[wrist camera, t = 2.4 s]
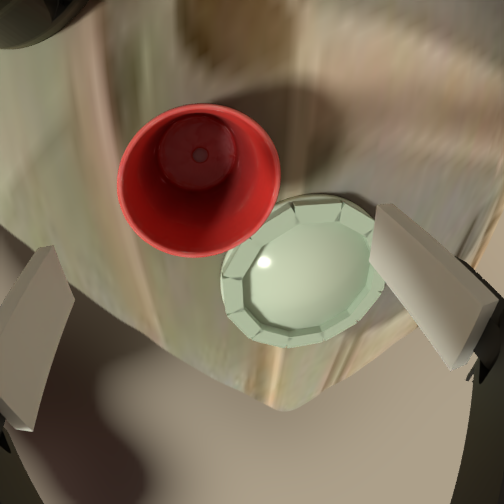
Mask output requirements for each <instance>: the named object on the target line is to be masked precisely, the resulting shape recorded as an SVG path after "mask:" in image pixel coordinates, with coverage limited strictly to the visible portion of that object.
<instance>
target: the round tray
mask: <svg viewBox="0 0 504 504" xmlns="http://www.w3.org/2000/svg"><path fill="white" fill-rule="evenodd" d="M374 223H375V220H374V219H373V218H372V217H371V216H370V215H369V214H368V213H367V212H365V211H364V210H363V209H362V208H361V207H359V206H358V205H356V204H355V203H353V202H351V201H349V200H347V199H345V198H341V197H338V196H335V195H328V194H307V195H299V196H295V197H291V198H288V199H285V200H282V201H280V202H277V203H275V206H274V208H273V210H272V212H271V213H270V215H269V217H268V218H267V220H266V221H265V223H264V224H263V225H262V226H261V228H260V229H259V230H258V231H257V232H256V233H255V234H254V235H252V236H251V237H250V238H249V239H247V240H246V241H245V242H243V243H241V244H240V245H238V246H236V247H235V248H233V249H230V250H228V251H226V253H225V255H224V259H223V262H222V265H221V272H220V287H221V293H222V299H223V302H224V304H225V311H226V314H227V317H228V318H229V319H230V320H231V321H232V322H233V323H234V324H235V325H236V326H237V327H238V328H239V329H240V330H241V331H242V332H243V333H244V334H245V335H246V336H247V337H248V338H249V339H250V338H252V340H253V341H257V342H261V343H265V344H269V345H273V346H277V347H281V348H285V347H286V346H287V348H293V347H299V346H305V345H310V344H316V343H321V342H323V338H324V340H325V341H327V340H329V339H330V338H332V337H334V336H336V335H337V334H339V333H341V332H342V331H344V330H346V329H348V328H349V327H351V326H353V325H354V324H356V323H357V322H356V320H358V321H360V320H361V318H362V317H363V316H364V315H365V314H366V312H367V311H368V310H369V309H370V307H371V306H372V305H373V304H374V302H375V301H376V300H377V299H378V297H379V296H380V295H381V294H382V293H381V291H383V289H384V285H385V281H384V280H383V279H382V277H381V276H380V275H379V274H378V272H377V271H376V270H375V269H374V267H373V266H372V265H371V264H370V262H369V257H370V251H371V244H372V237H373V230H374Z"/></svg>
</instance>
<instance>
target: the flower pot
mask: <svg viewBox="0 0 504 504" xmlns="http://www.w3.org/2000/svg"><path fill="white" fill-rule="evenodd" d="M280 182H281V168H280V161H279V156H278V153H277V150H276V148H275V145H274V143H273V141H272V140H271V138H270V137H269V135H268V134H267V133H266V131H265V130H264V129H263V128H262V127H261V126H260V125H259V124H258V123H257V122H256V121H254V120H253V119H252V118H250V117H249V116H247V115H246V114H244V113H242V112H240V111H238V110H235V109H233V108H230V107H227V106H223V105H218V104H210V103H197V104H189V105H183V106H179V107H176V108H173V109H170V110H168V111H166V112H164V113H162V114H160V115H158V116H156V117H155V118H153V119H152V120H150V121H149V122H148V123H147V124H145V125H144V126H143V127H142V128H141V129H140V130H139V131H138V132H137V133H136V135H135V136H134V137H133V139H132V140H131V141H130V143H129V144H128V146H127V148H126V150H125V152H124V154H123V157H122V159H121V162H120V165H119V169H118V176H117V194H118V200H119V204H120V207H121V210H122V212H123V214H124V217H125V219H126V220H127V222H128V223H129V225H130V226H131V228H132V229H133V230H134V231H135V233H136V234H137V235H138V236H139V237H140V238H142V239H143V240H144V241H145V242H147V243H148V244H150V245H151V246H153V247H155V248H156V249H158V250H160V251H163V252H166V253H168V254H171V255H175V256H181V257H191V258H197V257H207V256H212V255H217V254H220V253H223V252H226V251H228V250H230V249H233V248H235V247H236V246H238V245H240V244H241V243H243V242H245V241H246V240H247V239H249V238H250V237H251V236H252V235H254V234H255V233H256V232H257V231H258V230H259V229H260V228H261V226H262V225H263V224H264V223H265V221H266V220H267V218H268V217H269V215H270V213H271V212H272V210H273V208H274V206H275V203H276V200H277V197H278V194H279V189H280Z"/></svg>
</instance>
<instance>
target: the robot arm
mask: <svg viewBox="0 0 504 504" xmlns="http://www.w3.org/2000/svg"><path fill="white" fill-rule="evenodd" d="M88 1H89V0H0V49H20V48H25V47H29V46H32V45H34V44H37V43H39V42H41V41H43V40H45V39H47V38H48V37H50V36H52V35H53V34H55V33H56V32H58V31H59V30H60V29H62V28H63V27H64V26H65V25H66V24H68V23H69V22H70V21H71V20H72V19H73V18H74V17H75V16H76V15H77V14H78V13H79V12H80V11H81V9H82V8H83V7H84V6H85V5H86V3H87V2H88ZM369 262H370V264H371V265H372V266H373V267H374V269H375V270H376V271H377V272H378V274H379V275H380V276H381V277H382V279H383V280H384V281H385V282H386V284H387V285H388V286H389V288H390V289H391V290H392V291H393V293H394V294H395V295H396V297H397V298H398V299H399V301H400V302H401V303H402V304H403V306H404V307H405V308H406V310H407V311H408V312H409V314H410V315H411V316H412V318H413V319H414V321H415V322H416V323H417V325H418V326H419V327H420V329H421V330H422V332H423V333H424V334H425V336H426V337H427V338H428V340H429V341H430V343H431V344H432V346H433V347H434V348H435V350H436V351H437V353H438V354H439V356H440V357H441V358H442V360H443V361H444V363H445V364H446V366H447V367H448V369H449V370H450V371H452V370H454V369H457V368H459V367H461V366H464V365H465V364H467V362H468V361H469V359H470V357H471V355H472V353H473V352H475V354H476V355H477V356H478V359H477V361H476V362H475V364H474V366H473V367H472V369H471V371H470V372H469V374H468V376H467V378H466V381H469V379H470V378H471V376H472V375H473V374H474V380H473V381H472V382H473V391H472V400H471V408H470V416H469V422H468V429H467V435H466V440H465V446H464V451H463V456H462V460H461V465H460V469H459V473H458V477H457V482H456V485H455V489H454V492H453V496H452V499H451V503H450V504H504V298H503V297H501V295H500V294H499V293H497V291H496V290H495V289H494V288H493V287H492V286H491V285H490V284H489V283H488V282H487V281H485V279H482V277H481V276H480V275H479V274H478V273H476V272H475V270H474V269H473V268H472V267H471V266H470V265H469V264H468V263H466V262H465V261H463V260H461V259H459V258H458V257H456V256H453V255H452V254H451V253H450V252H449V251H448V250H447V249H446V248H444V247H443V246H442V245H441V244H440V243H439V242H438V241H436V240H435V239H434V238H433V237H432V236H431V235H430V234H428V233H427V232H426V231H425V230H424V229H423V228H421V227H420V226H419V225H418V224H417V223H415V222H414V221H413V220H412V219H411V218H409V217H408V216H407V215H406V214H404V213H403V212H402V211H401V210H399V209H398V208H397V207H396V206H394V205H393V204H380V205H377V206H376V215H375V223H374V230H373V237H372V244H371V251H370V257H369ZM74 301H75V299H74V297H73V294H72V292H71V289H70V287H69V285H68V282H67V280H66V277H65V275H64V272H63V270H62V267H61V264H60V262H59V259H58V256H57V254H56V251H55V248H54V245H52V246H46V247H40V248H38V249H37V251H36V252H35V254H34V255H33V256H32V258H31V259H30V261H29V262H28V264H27V265H26V267H25V268H24V270H23V271H22V273H21V274H20V276H19V277H18V279H17V280H16V282H15V283H14V285H13V287H12V288H11V290H10V291H9V293H8V295H7V296H6V298H5V299H4V301H3V303H2V304H1V306H0V504H44V503H43V501H42V500H41V498H40V496H39V495H38V493H37V491H36V489H35V487H34V485H33V484H32V482H31V480H30V478H29V476H28V474H27V472H26V470H25V468H24V466H23V464H22V462H21V460H20V458H19V455H18V453H17V451H16V449H15V447H14V445H13V442H12V440H11V437H10V435H9V433H8V432H7V430H6V429H5V428H4V427H3V426H4V422H5V419H6V420H7V421H8V422H9V423H10V424H11V425H12V426H13V427H14V428H15V429H18V430H25V431H33V429H34V425H35V421H36V417H37V413H38V409H39V405H40V401H41V398H42V394H43V391H44V387H45V384H46V380H47V377H48V374H49V371H50V368H51V364H52V361H53V358H54V355H55V352H56V349H57V346H58V344H59V341H60V338H61V335H62V332H63V330H64V327H65V324H66V322H67V319H68V316H69V314H70V311H71V308H72V306H73V303H74Z"/></svg>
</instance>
